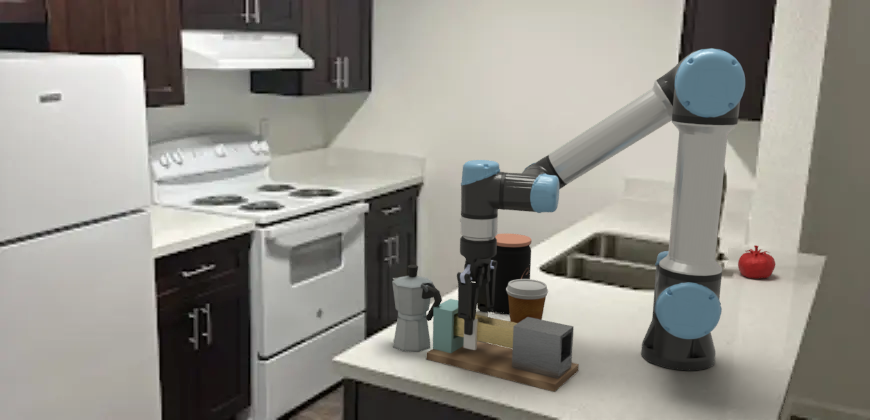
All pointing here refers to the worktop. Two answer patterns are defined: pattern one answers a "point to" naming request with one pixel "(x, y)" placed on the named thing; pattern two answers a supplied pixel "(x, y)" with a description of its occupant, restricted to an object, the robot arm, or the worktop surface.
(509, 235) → the coffee jar
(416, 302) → the coffee maker
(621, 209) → the worktop surface
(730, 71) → the robot arm
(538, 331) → the sleeve
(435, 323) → the socket
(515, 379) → the board
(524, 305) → the disposable coffee cup
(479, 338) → the wooden crossbeam
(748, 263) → the pomegranate
